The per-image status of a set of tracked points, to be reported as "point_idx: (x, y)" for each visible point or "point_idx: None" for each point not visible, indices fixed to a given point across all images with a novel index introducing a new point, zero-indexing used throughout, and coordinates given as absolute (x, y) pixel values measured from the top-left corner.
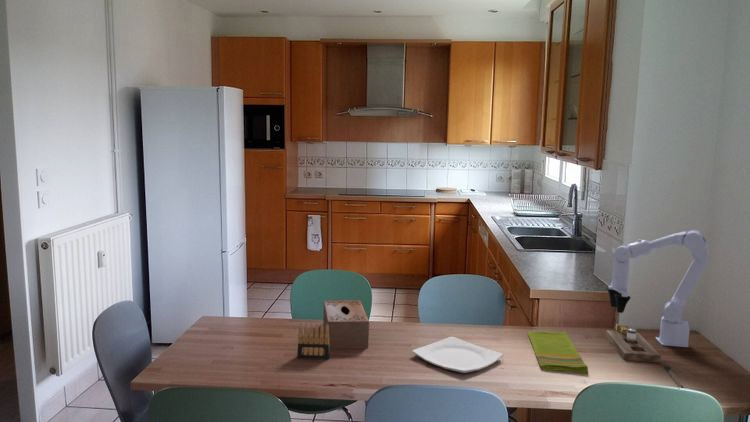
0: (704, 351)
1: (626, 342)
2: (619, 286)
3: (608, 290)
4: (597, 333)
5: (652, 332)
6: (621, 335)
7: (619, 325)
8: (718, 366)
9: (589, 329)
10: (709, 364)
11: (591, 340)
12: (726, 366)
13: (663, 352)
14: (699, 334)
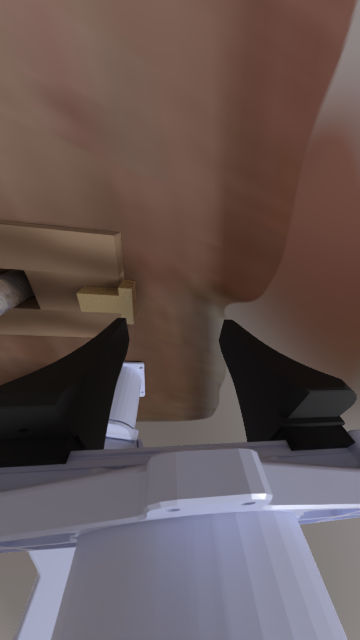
0: None
1: (8, 273)
2: (57, 618)
3: (300, 385)
4: (148, 208)
5: (187, 367)
6: (66, 277)
7: (120, 296)
8: None
9: (196, 187)
10: None
11: (27, 123)
12: None
13: (41, 349)
14: (185, 419)
